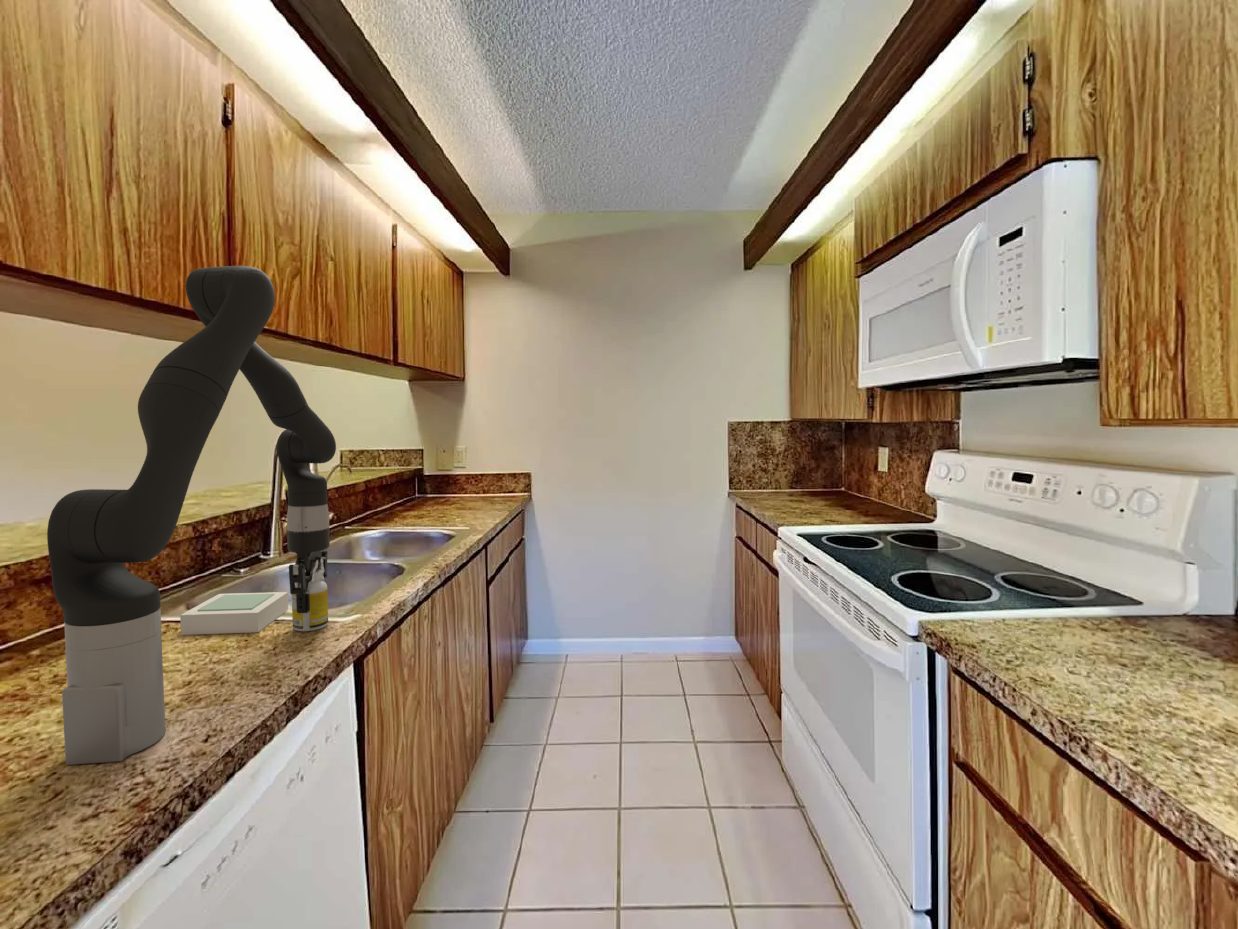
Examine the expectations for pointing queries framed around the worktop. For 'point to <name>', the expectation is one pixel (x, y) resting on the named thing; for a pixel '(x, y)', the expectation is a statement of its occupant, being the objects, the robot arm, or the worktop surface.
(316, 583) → the pill bottle
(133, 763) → the worktop surface
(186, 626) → the stand
